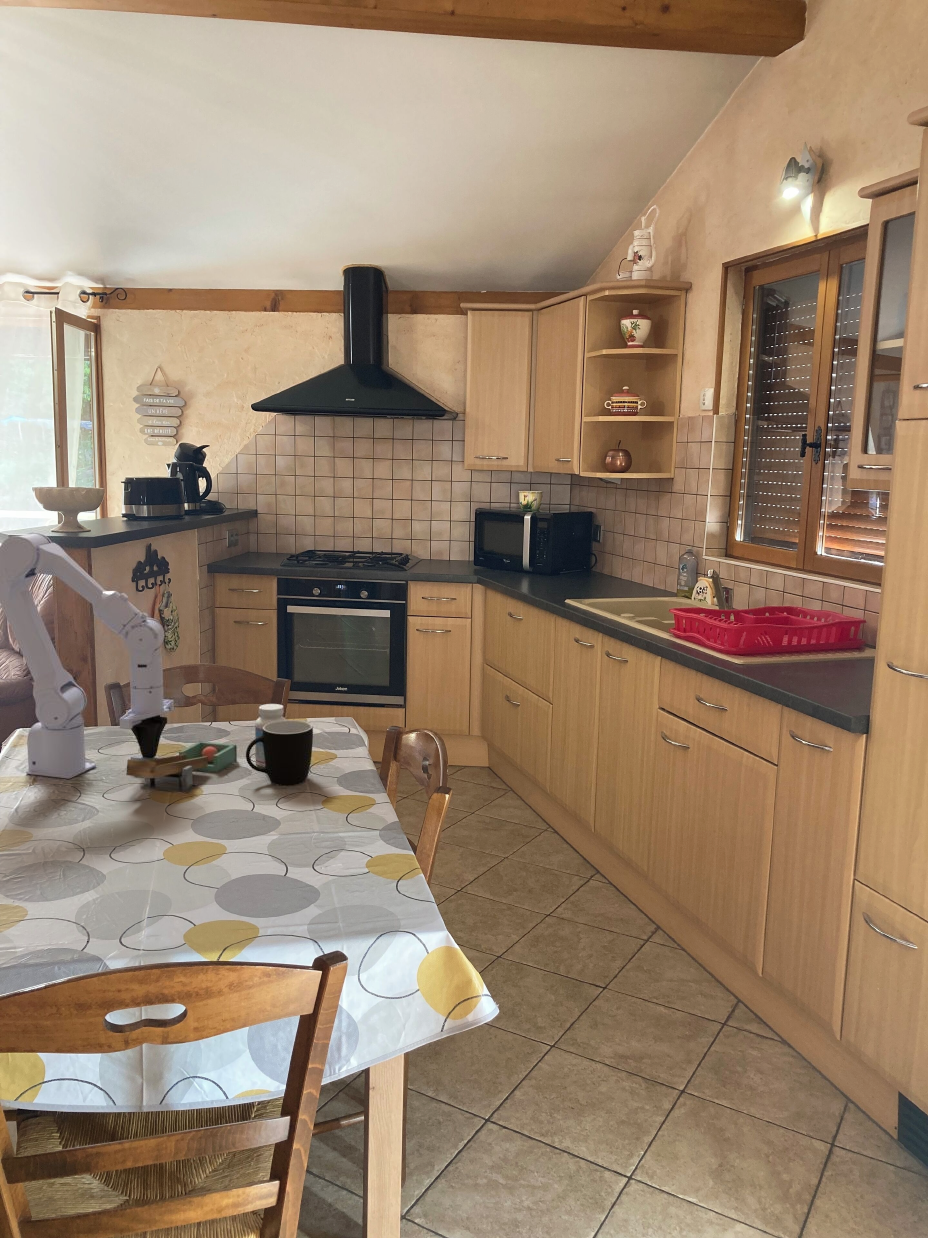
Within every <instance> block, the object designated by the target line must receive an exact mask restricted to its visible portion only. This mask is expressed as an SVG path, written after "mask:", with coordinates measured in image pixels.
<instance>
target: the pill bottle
mask: <svg viewBox="0 0 928 1238" xmlns="http://www.w3.org/2000/svg"><path fill="white" fill-rule="evenodd" d="M258 715H259V717H257V719H256V720H255V724H254V726H255V730H254V731H255V732H254V736H255V737H254V740H255V739H256V738H258V737H260V736H262V734H263V727H264V726H265V725H266V724H268V723H272V722H276V721H285V720H287V719H286V718H285V717H284V716H283V715H284V705H282V704H279V703H278V704H277V703H266V704H262V705H260V706H259V707H258ZM254 748H255V756H254V757H255V764H256V766H258V767H262V768H263V767H265V757H264V748H263V743H262V742H258V743H256V744H255V745H254Z"/></svg>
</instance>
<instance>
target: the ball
mask: <svg viewBox="0 0 928 1238" xmlns="http://www.w3.org/2000/svg"><path fill="white" fill-rule="evenodd" d="M217 753H218V752H217V750H216V749H215V748H214V747H207V748H205V749H204V750H203V752H202V757H204V756H207V757H208V762H214V760H213V756H214V755H215V754H217Z"/></svg>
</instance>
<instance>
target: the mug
mask: <svg viewBox="0 0 928 1238" xmlns="http://www.w3.org/2000/svg"><path fill="white" fill-rule="evenodd" d="M313 741H314V727H313V725H312V724H311V723H309V722H307V721H303V720H294V719H293V720H291V719H290V720H287V719H286V720H285V721H276V722H272V723H268V724H266V725H265V726H264V727H263V734H262V736H260V737H258V738H256V739H255V738H254V739H253V740H252V741H250V743H248V746H247V748H246V751H245V759H246V762H247V764H248V766H249V767H250V768H251V769H252V770H254V771H256V772H259V773H264V774H266V775H267V777H268V779H269V781H270V782H271V783H272V784H273V785H276V786H282V787H283V786H284V787H291V786H297V785H300V784H303V783H305V782H306V781H307V779H308V777H309V772H310V769H311V762H312V756H313V754H312V753H313V743H314V742H313ZM258 742H262V743H263V748H264V757H265V767H263V766H262V767H261V766H258V765H255V764H254V763H253V762H252V761H251V755H250V754H251V750H252V749H253V747H255V744H256V743H258Z"/></svg>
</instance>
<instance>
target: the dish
mask: <svg viewBox="0 0 928 1238" xmlns="http://www.w3.org/2000/svg"><path fill="white" fill-rule="evenodd" d="M207 747H214V748H215V749H216V750H217V752H218V753H217V754H215V755H214V756H213V760H214V762H208V765H207V766H206V767H202V768H197V769H193V770H192V771H201V772H207V773H208V772H209V773H219V772H221V771H222V770H224V769H226V768H228V767H230V766H231V765H233V764H234V763H236V762H237V761H238V756H237V755H238V754H237V753H238V751H237V749H238V747H237V744H231V743H230V744H229V743H220V742H211V741H210V742H209V741H201V740H199V741H197V742H196V743H193V744H191V745H190V746H188V747H185V748H184V749H181V750H180V751H178V755H181V754H187V759H186V760H189V759H194V758H199V757H202V752H203V750H204V749H205V748H207Z"/></svg>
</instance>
